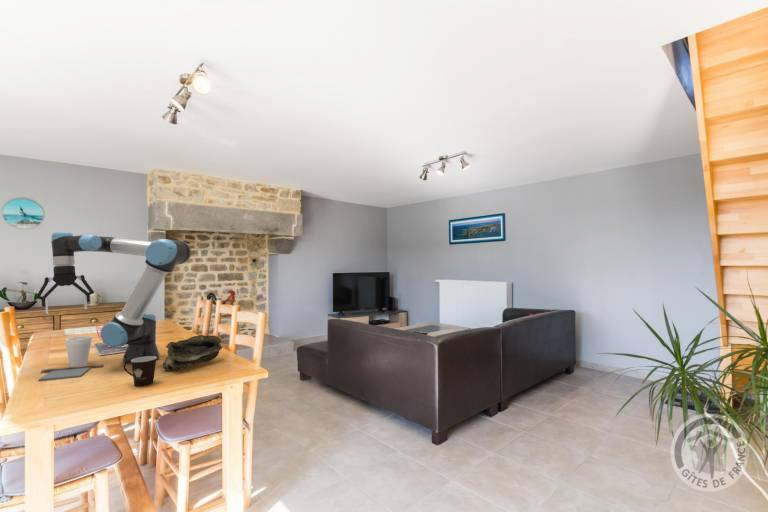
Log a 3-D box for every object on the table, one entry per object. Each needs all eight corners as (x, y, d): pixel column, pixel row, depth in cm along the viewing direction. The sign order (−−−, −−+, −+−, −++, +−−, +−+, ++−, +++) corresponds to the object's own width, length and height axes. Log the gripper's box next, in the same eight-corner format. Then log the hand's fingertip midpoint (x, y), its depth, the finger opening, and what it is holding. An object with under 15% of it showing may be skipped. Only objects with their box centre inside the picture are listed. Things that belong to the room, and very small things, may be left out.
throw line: (103, 366, 171) (103, 364, 171) (102, 367, 169) (102, 365, 169) (42, 372, 162) (42, 369, 162) (41, 373, 161) (41, 370, 161)
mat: (90, 369, 167) (90, 367, 167) (81, 376, 156) (81, 375, 156) (51, 372, 161) (51, 371, 161) (38, 381, 150) (38, 379, 150)
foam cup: (96, 364, 175) (96, 336, 175) (74, 369, 166) (74, 340, 166) (82, 362, 178) (82, 335, 178) (60, 367, 169) (60, 339, 169)
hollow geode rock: (219, 367, 186) (208, 343, 192) (231, 352, 181) (219, 328, 187) (161, 381, 162) (150, 353, 168) (173, 364, 158) (161, 336, 164)
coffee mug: (161, 382, 149) (161, 357, 150) (139, 388, 142) (139, 363, 142) (143, 378, 154) (143, 354, 154) (121, 384, 147) (121, 359, 147)
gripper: (96, 264, 180) (99, 307, 180) (26, 268, 163) (29, 315, 162) (99, 263, 175) (102, 307, 175) (26, 267, 157) (29, 316, 157)
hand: (67, 311), depth 168 cm, fingers open, 13 cm apart
